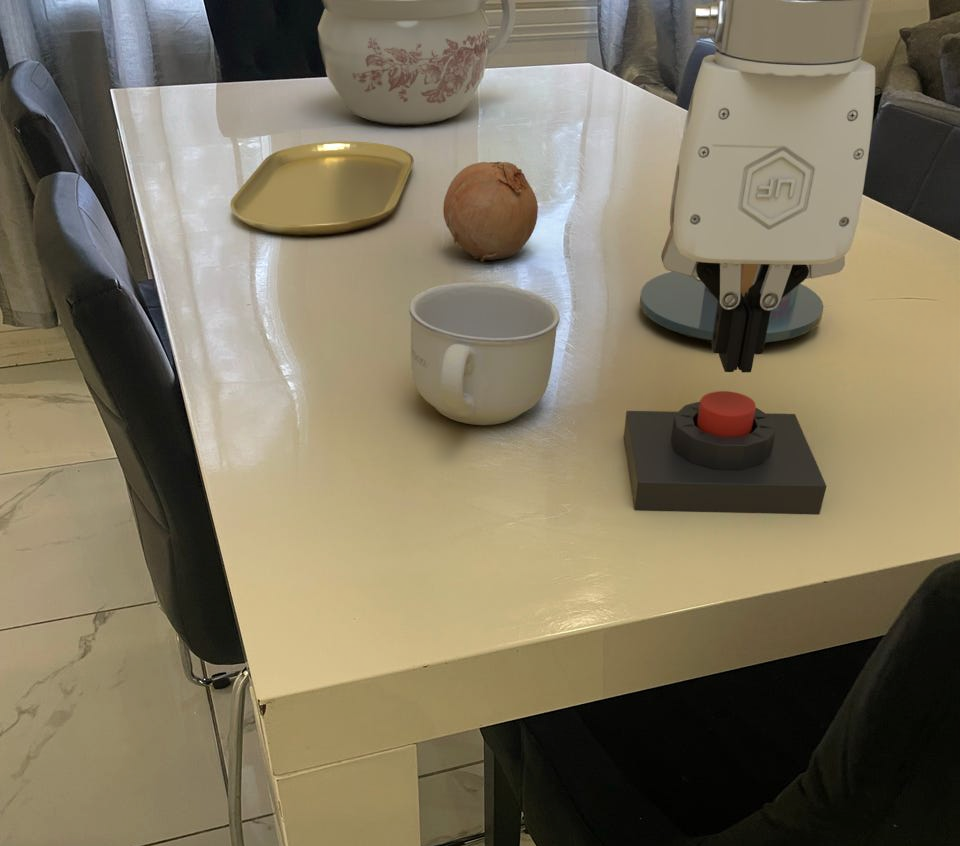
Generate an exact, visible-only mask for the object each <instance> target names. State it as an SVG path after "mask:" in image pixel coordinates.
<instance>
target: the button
mask: <svg viewBox="0 0 960 846" xmlns="http://www.w3.org/2000/svg"><path fill="white" fill-rule="evenodd" d="M699 402H700V406H699V413H698V419H697V427H698V428H699V429H701V430H702V431H704V432H706V433H709V434H713V435H717V436H720V437H740V436H743V435H747V434H749V433H750V432H751V430H752V425H753V420H754V414H755V409H756V408H757V406H756V405H757V404H756V402H755V401H754V400H753V399H752V398H750V397H749V396H747V395H744V394H742V393H739V392H736V391H728V390H727V391H726V390H724V391H723V390H720V391H713V392H708V393H706V394H704V395H703V396H702V397H701V398H700V401H699Z"/></svg>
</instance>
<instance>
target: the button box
mask: <svg viewBox="0 0 960 846" xmlns="http://www.w3.org/2000/svg"><path fill="white" fill-rule="evenodd" d="M699 406H700V401H696V402H692V403H689V404H685V405H683V407H682V408H681V409H680V410H678V411H666V410H665V411H663V410H661V411H657V410H626V412H625V420H624V421H625V422H624V430H623V442H624V450H625V457H626V462H627V470H628V476H629V484H630V490H631V497H632V504H633V510H634V511H637V512H638V511H640V512H678V513H679V512H682V513H683V512H686V513H728V514H729V513H730V514H770V515H775V514H778V515H817V516H818V515H821V510H822V507H823V506H822V505H823V501H824V498H825V494H826V490H827V483H826V481H825V479H824V477H823V475H822V472H821V470H820V468H819V465H818V463H817V461H816V458H815V456H814V454H813V452H812V449H811V447H810V445H809V443H808V440H807V438H806V436H805V433H804V431H803V429H802V427H801V424H800V422H799V420H798V418H797V415H796V414H795V413H769V412H768V413H766V412H764V411H763V410H761V409H759V408H758V407H756V409H755V414H754V420H753V425H752V430H751V432H750V433H749V434H747V435H743V436H740V437H720V436H717V435H713V434H709V433H706V432H704V431H702V430H701V429H699V428H698V427H697V419H698V413H699Z"/></svg>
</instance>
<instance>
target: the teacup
mask: <svg viewBox="0 0 960 846" xmlns="http://www.w3.org/2000/svg"><path fill="white" fill-rule="evenodd" d="M556 306H557V305H555V304H554V303H553V302H552V301H550V300H549V299H547V298H546V297H544V296H542V295H540V294H538V293H535V292H533V291H529V290H526V289H523V288H519V287H516V286H513V285H509V284H504V283H503V284H502V283H501V284H500V283H493V282H485V281H484V282H479V281H476V282H475V281H471V282H470V281H467V282H453V283H447V284H442V285H437V286H433V287H430V288H427V289H426V290H423V291H420V292H419V293H418V294H416V295H415V296H413V298H412V299H411V300H410V303H409V306H408V307H409V309H408V310H409V311H408V312H409V315H410V362H411V363H410V364H411V374H412V379H413V382H414V385H415V387H416V390H417V391H418V393H419V394H420V396H421V397H422V398H423V399H424V400H425V401H426V402H427V403H428V404H430V405H431V406H432V407H434V408H435V410H437V411H438V412H439V413H440V414H441V415H443V416H444V417H446V418H448V419H450V420H453V421H456V422H457V423H458V422H459V423H463V424H467V425H474V426H493V425H500V424H504V423H507V422H510V421H512V420H514V419H516V418H518V417H520V416H521V414H523V413H525V412H527V411H529V410H530V409H531V408H533V407H534V406H535V405H536V404H538V403H539V402H540V400H541V399H542V398H543V396H544V394H545V393H546V390H547V389H548V386H549V382H550V379H551V378H550V377H551V372H552V366H553V361H554V355H555V347H556V338H557V329H558V326H559V324H560V319H561V318H560V317H561V316H560V311H559V310H558V308H557V307H556Z"/></svg>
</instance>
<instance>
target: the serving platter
mask: <svg viewBox="0 0 960 846" xmlns="http://www.w3.org/2000/svg"><path fill="white" fill-rule="evenodd" d="M414 161H415V160H414V157H413V155H412V154H411V152H408V151H406V150H405V149H402V148H400V147H396V146H393V145H388V144H384V143H383V144H382V143H377V142H376V143H375V142H365V141H326V142H315V143H309V144H308V143H307V144H300V145H297V146H292V147H288V148H284V149H281V150H278V151H276V152H274V153H273V152H272V154H270V155H268V156H267V157H265V158H264V160H262V162H261V163H260V164H259V165H258V167H257V168H256V169H255V170H254V171H253V173H252V174H251V175H250V177H248V179H247V180H246V181H245V182H244V184H243V185H242V186H241V187H240V188H239V190H238V191H237V192H236V193H235V194H234V196H233V197H232V198H231V200H230V209H231V211H232V214H234V216H236V217H237V219H239V220H240V221H242V222H243V223H244V224H246V225H247V226H250V227H253V228H255V229H257V230H261V231H265V232H267V233H273V234H278V235H279V234H280V235H288V236H326V235H327V236H329V235H337V234H342V233H348V232H354V231H358V230H362V229H365V228H367V227H370V226H372V225H375V224H377V223H379V222H381V221H382V220H384V219H386V218H387V217H388V216H389V215H390V214H392V212H393V211H394V210H395V209H396V207H397V205H398V203H399V201H400V198H401V195H402V193H403V190H404V188H405V187H406V183H407V180H408V178H409V176H410V173H411V170H412V168H413V166H414Z"/></svg>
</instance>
